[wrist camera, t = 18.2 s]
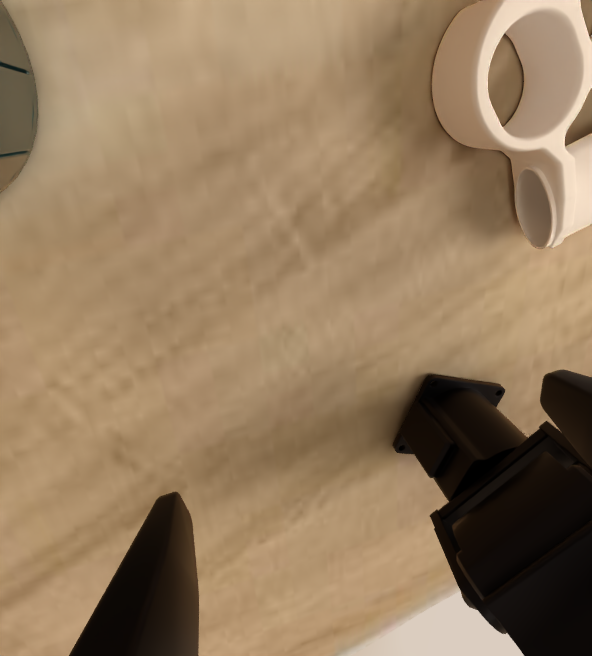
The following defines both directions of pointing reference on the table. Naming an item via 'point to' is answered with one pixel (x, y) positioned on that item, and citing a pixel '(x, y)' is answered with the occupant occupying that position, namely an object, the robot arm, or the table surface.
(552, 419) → the robot arm
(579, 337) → the table surface
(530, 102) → the knuckle duster
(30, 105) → the shallow bowl
